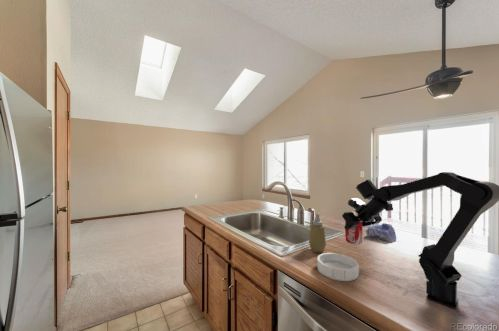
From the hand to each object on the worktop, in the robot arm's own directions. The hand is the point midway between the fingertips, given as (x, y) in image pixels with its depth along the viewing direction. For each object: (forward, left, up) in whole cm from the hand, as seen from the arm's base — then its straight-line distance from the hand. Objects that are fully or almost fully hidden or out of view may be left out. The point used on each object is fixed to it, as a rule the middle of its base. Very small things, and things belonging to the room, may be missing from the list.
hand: (350, 227), depth 96 cm
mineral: (-1, -38, -14) cm, 41 cm away
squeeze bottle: (+14, +6, -13) cm, 20 cm away
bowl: (-2, +18, -13) cm, 22 cm away
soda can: (-1, 0, -7) cm, 7 cm away
